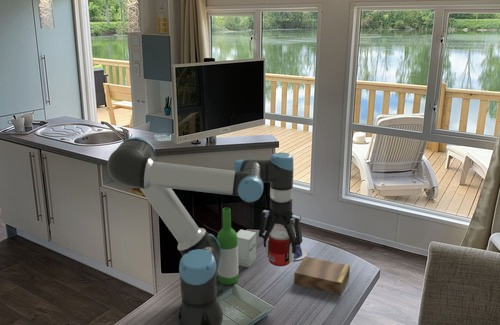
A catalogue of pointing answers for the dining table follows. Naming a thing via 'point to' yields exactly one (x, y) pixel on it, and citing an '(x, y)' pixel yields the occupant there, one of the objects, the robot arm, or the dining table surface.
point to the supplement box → (246, 247)
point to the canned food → (279, 247)
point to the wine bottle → (228, 251)
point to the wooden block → (322, 275)
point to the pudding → (300, 253)
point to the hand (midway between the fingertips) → (279, 257)
